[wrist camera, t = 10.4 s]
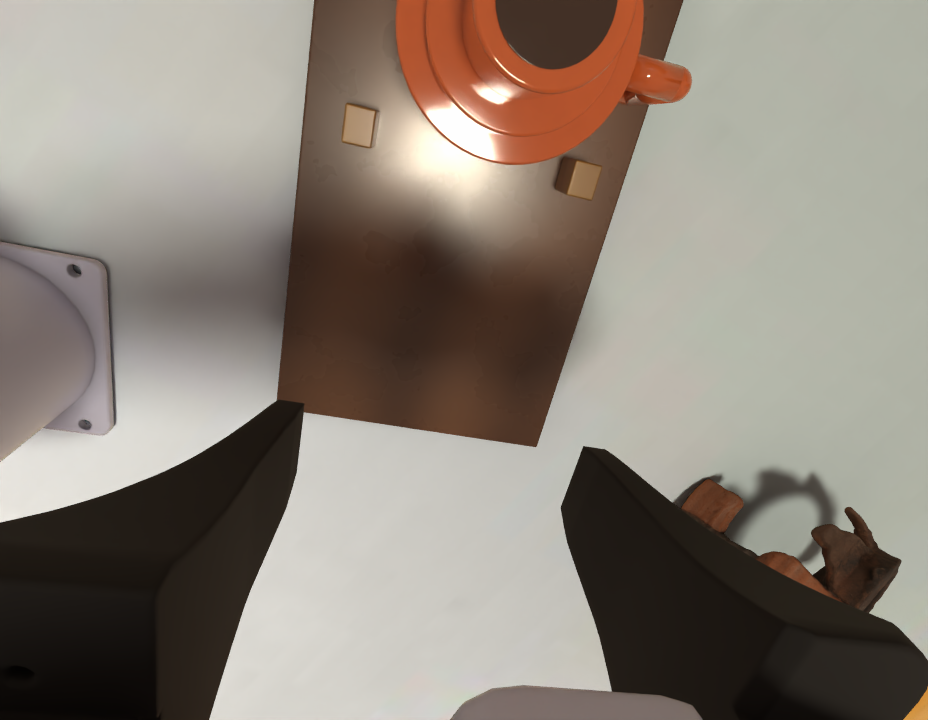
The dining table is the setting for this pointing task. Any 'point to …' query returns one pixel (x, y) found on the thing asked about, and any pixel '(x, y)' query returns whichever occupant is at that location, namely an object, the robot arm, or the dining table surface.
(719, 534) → the brown arched frame
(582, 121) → the jug
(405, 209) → the stand
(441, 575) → the dining table surface
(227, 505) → the robot arm
